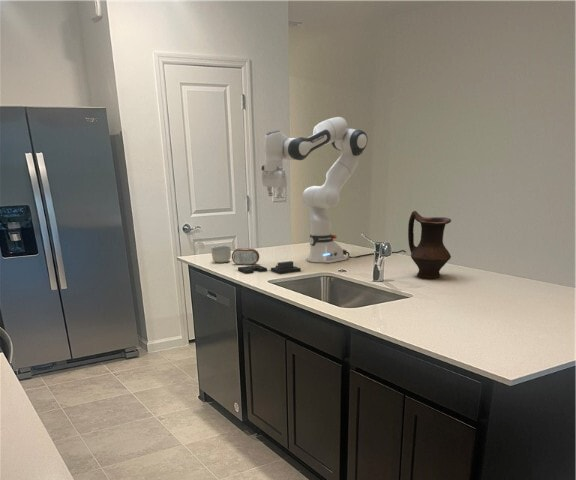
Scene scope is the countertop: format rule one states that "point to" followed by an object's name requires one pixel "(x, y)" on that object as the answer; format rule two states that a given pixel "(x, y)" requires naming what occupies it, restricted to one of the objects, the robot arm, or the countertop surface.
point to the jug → (428, 245)
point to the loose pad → (285, 268)
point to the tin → (245, 256)
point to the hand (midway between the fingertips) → (274, 196)
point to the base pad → (252, 269)
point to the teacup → (221, 254)
